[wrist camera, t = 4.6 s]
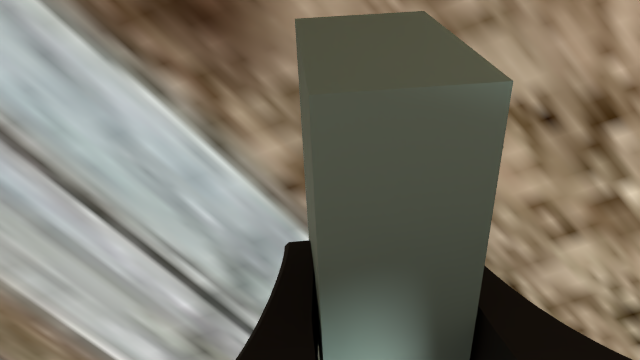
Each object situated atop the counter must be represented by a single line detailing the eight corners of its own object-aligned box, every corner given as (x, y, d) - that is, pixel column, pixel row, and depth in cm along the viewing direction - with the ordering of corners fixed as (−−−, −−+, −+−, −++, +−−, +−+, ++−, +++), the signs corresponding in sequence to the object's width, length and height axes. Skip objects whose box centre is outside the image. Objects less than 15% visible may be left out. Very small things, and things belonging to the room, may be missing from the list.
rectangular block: (423, 11, 12) (513, 80, 7) (402, 364, 18) (444, 517, 13) (294, 18, 12) (308, 94, 7) (317, 372, 18) (332, 529, 13)
